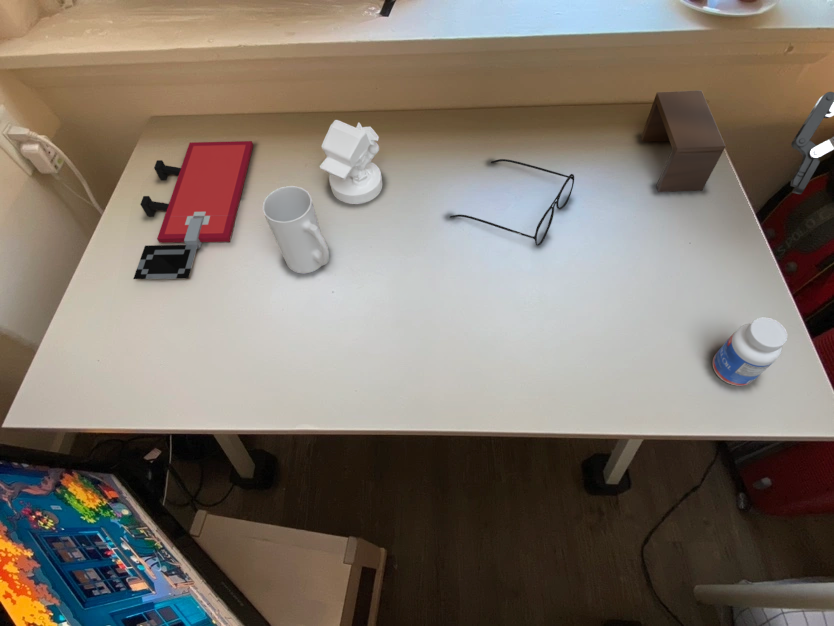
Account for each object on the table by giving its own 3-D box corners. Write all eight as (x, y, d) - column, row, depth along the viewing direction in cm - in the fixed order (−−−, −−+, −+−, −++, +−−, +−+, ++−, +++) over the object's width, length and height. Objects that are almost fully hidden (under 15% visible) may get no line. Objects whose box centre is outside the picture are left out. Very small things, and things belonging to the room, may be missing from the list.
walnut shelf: (702, 190, 89) (725, 146, 82) (657, 192, 90) (677, 148, 82) (681, 135, 96) (701, 90, 89) (640, 137, 96) (656, 92, 89)
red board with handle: (123, 283, 85) (221, 281, 84) (114, 271, 83) (215, 270, 82) (172, 149, 101) (254, 147, 101) (165, 136, 99) (249, 134, 98)
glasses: (535, 253, 84) (536, 230, 80) (450, 225, 90) (447, 202, 86) (573, 192, 90) (576, 168, 86) (491, 169, 96) (490, 146, 92)
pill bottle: (708, 347, 74) (740, 308, 66) (751, 352, 74) (789, 313, 65) (713, 384, 72) (747, 348, 63) (758, 390, 71) (798, 354, 63)
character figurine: (392, 179, 94) (385, 120, 84) (358, 215, 90) (347, 158, 80) (351, 160, 97) (339, 102, 87) (316, 195, 93) (300, 138, 83)
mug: (275, 259, 86) (252, 206, 76) (307, 233, 89) (289, 178, 79) (319, 294, 82) (300, 243, 72) (351, 266, 85) (338, 212, 75)
